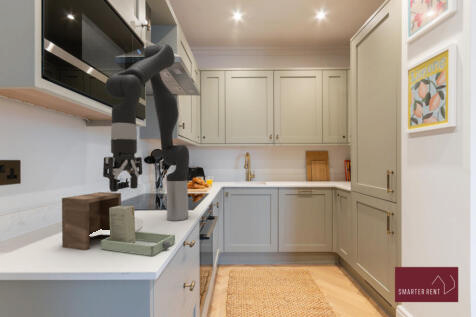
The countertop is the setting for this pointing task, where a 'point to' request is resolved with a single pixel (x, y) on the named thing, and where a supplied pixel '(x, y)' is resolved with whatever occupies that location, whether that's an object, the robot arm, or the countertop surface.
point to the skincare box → (122, 224)
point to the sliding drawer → (162, 240)
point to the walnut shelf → (86, 217)
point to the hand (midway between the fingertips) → (124, 189)
